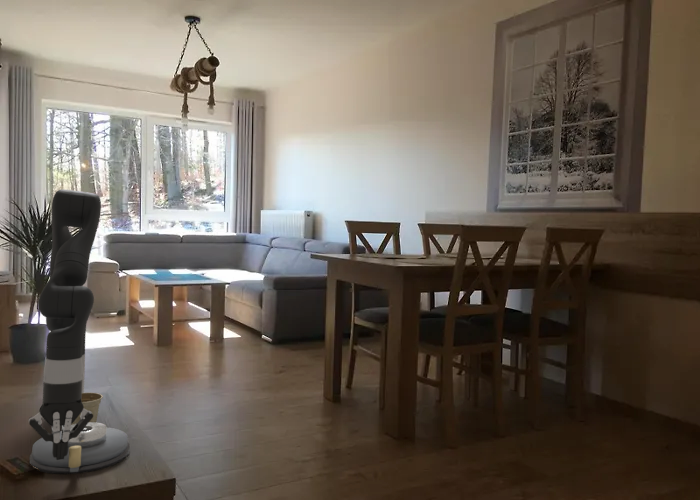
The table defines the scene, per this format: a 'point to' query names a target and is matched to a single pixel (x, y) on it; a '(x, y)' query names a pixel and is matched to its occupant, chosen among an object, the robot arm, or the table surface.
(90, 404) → the flower pot
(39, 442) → the turntable
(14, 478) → the table surface
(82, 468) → the turntable base
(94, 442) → the cover
